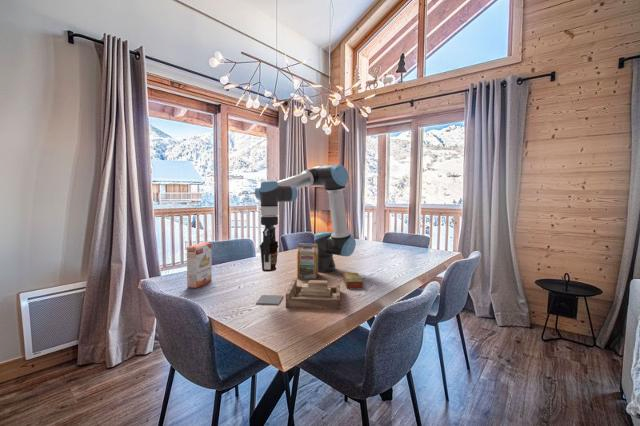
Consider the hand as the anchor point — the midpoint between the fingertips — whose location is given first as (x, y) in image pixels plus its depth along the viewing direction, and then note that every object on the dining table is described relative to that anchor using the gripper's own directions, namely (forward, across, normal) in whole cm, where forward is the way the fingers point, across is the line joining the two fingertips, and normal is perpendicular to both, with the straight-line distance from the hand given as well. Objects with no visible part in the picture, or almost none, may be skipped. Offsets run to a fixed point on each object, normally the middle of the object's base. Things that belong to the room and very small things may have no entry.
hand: (269, 266), depth 136 cm
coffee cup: (+2, 0, 0) cm, 2 cm away
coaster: (+16, 0, 0) cm, 16 cm away
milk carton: (+16, -39, +13) cm, 44 cm away
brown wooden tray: (+15, -4, +20) cm, 26 cm away
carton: (+16, -27, +38) cm, 50 cm away
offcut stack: (+15, -11, +20) cm, 27 cm away
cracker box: (+16, -20, -42) cm, 49 cm away
